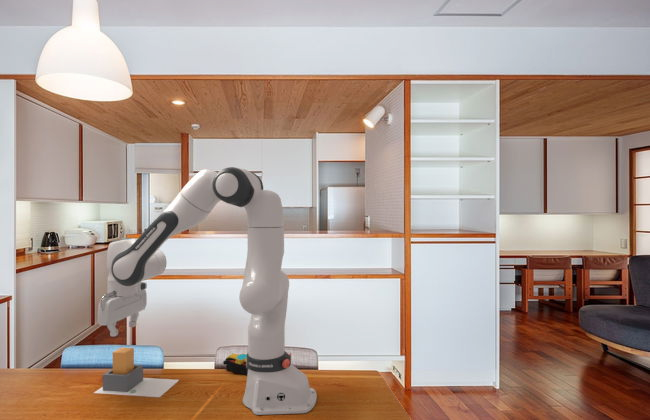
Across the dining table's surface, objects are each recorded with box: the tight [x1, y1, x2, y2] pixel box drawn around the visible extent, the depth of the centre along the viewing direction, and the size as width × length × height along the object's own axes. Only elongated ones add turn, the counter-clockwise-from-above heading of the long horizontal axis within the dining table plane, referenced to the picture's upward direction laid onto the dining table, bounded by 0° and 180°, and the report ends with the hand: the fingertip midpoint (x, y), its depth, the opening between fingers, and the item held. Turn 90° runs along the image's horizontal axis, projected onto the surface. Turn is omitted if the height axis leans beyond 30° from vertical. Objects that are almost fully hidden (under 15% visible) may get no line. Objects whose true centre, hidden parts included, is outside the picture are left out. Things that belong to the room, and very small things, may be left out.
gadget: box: [222, 353, 248, 375], centre depth 140 cm, size 6×13×6 cm, turn 77°
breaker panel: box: [93, 364, 180, 398], centre depth 127 cm, size 22×12×6 cm, turn 83°
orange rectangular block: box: [112, 347, 135, 375], centre depth 127 cm, size 4×4×7 cm
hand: (123, 331), depth 127 cm, fingers open, 8 cm apart
